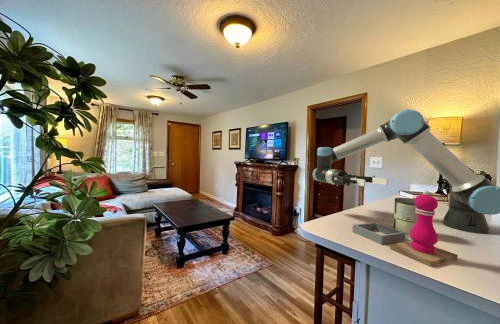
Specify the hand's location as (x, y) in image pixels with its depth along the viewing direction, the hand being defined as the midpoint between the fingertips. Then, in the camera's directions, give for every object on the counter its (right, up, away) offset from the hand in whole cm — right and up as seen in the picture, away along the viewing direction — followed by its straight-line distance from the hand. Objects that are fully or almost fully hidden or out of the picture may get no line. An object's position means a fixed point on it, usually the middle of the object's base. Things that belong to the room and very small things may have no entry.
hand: (376, 182), depth 85 cm
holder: (-1, -22, -2) cm, 22 cm away
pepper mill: (+5, -21, -17) cm, 27 cm away
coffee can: (+16, -22, +3) cm, 27 cm away
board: (+5, -22, -17) cm, 28 cm away
